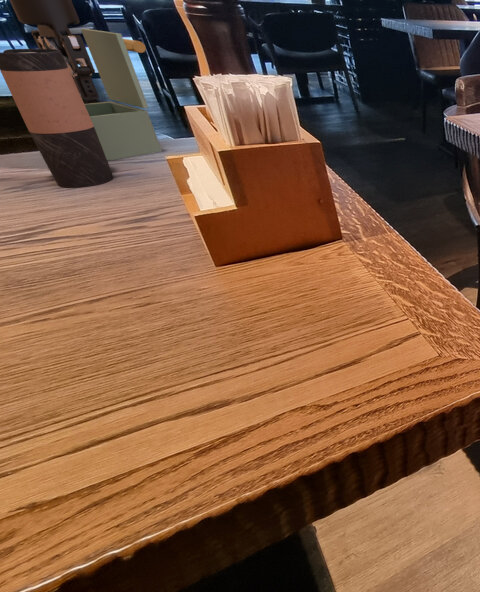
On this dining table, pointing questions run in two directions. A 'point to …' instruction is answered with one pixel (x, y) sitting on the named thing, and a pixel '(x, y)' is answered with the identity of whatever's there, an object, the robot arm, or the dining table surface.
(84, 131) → the travel mug
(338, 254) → the dining table surface
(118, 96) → the lid
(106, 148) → the chest
